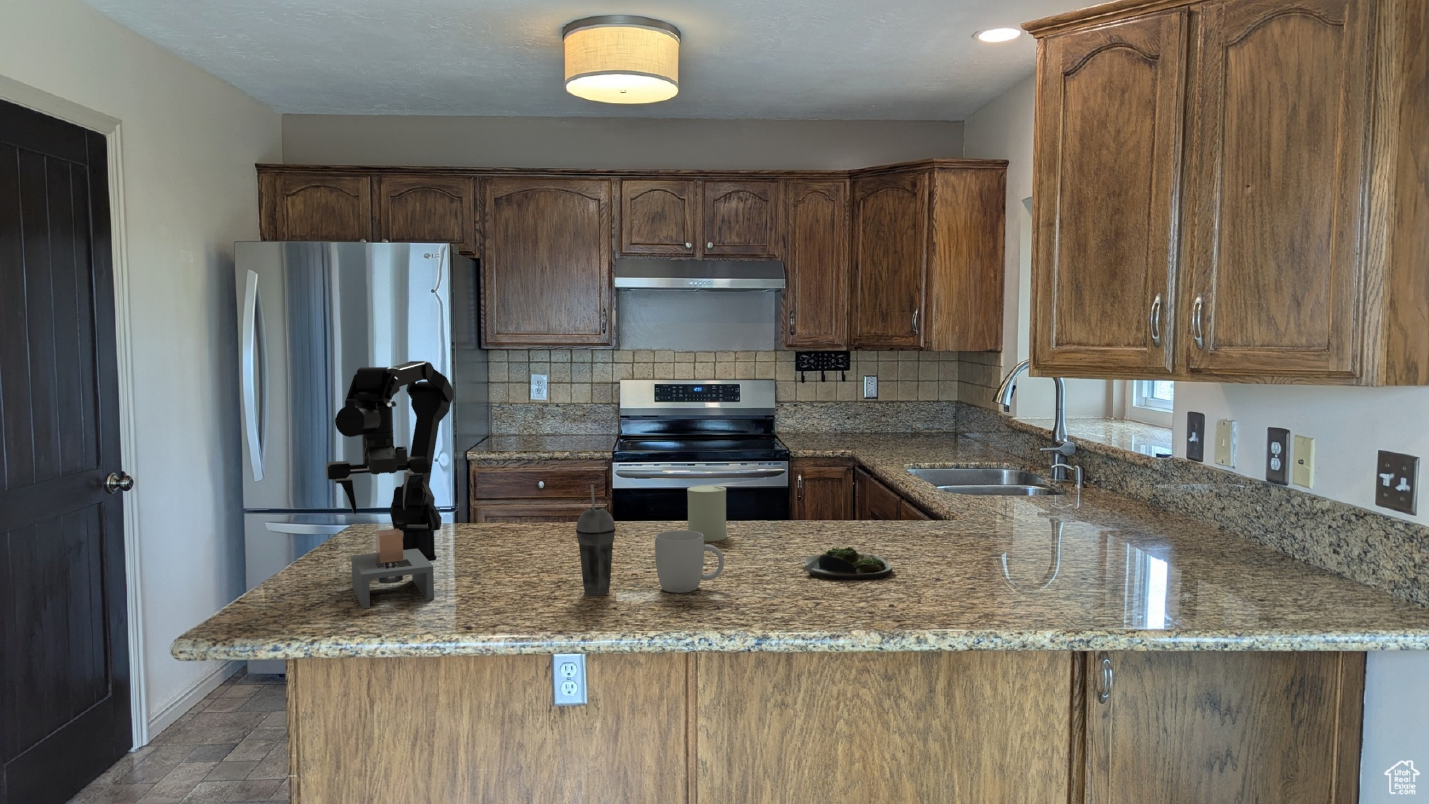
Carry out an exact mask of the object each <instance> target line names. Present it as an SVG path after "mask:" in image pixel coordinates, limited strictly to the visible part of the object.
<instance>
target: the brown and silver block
mask: <svg viewBox="0 0 1429 804" xmlns="http://www.w3.org/2000/svg"><path fill="white" fill-rule="evenodd" d="M375 546H376V547H375V549H376V552H375V553H376V555H377V559H378V560H379V562H380V563H384V567H382V568H379V570H380V569H389V568H397V567H398V566H396V562H395V561H403V533H402V532H401V531H400V530H399V529H394V528H391V529H382V530H381V529H380V530H379V529H378V530H375ZM403 580H404V575H402V576H394V577H385V578H377V583H379V584H395V583H399V582H400V583H401V582H402V581H403Z"/></svg>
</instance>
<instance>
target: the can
mask: <svg viewBox="0 0 1429 804" xmlns="http://www.w3.org/2000/svg"><path fill="white" fill-rule="evenodd" d="M686 490H687V531H695V532H700V533H702V534H703V536H704V543H705V542H719V541H723V540H725V539H727V537H728V535H727V487H724V486H720V485H695V486H690V487H688V488H687V489H686Z"/></svg>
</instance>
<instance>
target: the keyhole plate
mask: <svg viewBox="0 0 1429 804" xmlns="http://www.w3.org/2000/svg"><path fill="white" fill-rule="evenodd" d="M395 563H396V564H397V566H396V567H397V568H389V569H381V568H385V563H380V562H379V560H378V559H377V555H376V552H373V553H363V554H355V555H351V581H352V589H353V592H354V594H355V595H356V597H357V600H358V602H359V604H360V606H361V608H362V610H365V609H370V608H371V602H370V601H371V598H370V595H371V593H370V580H375V579H377V580H378V578H385V577H394V576H402V575H403V576H407V575H408V576H410V575H411V580H412V582H413V583H414V584H415V586H416V587H417V589H418V590H419V591H420V592H421V594H422V596H423V597H424V598H425V599H426V601H431V600H435V588H434V587H435V583H434V578H435V577H434V575H435V574H434V565H433V564H432V563H431V562H430V561H429V560H427V559H426V557H425V556H424V555H423V554H422V553H421V552H420V551H419V549H409V550H403V561H395ZM406 565H407V566H406ZM379 569H380V570H379Z"/></svg>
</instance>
